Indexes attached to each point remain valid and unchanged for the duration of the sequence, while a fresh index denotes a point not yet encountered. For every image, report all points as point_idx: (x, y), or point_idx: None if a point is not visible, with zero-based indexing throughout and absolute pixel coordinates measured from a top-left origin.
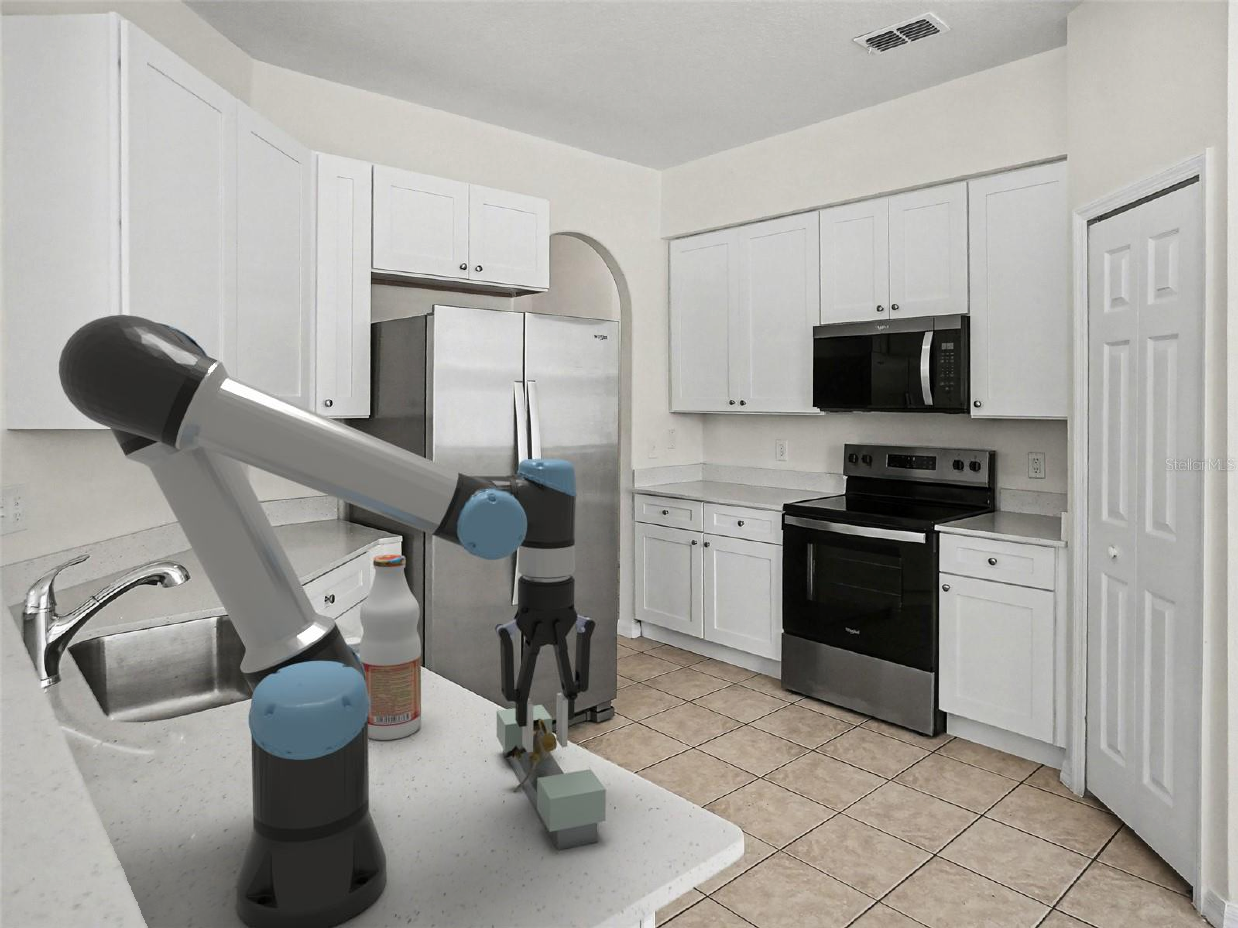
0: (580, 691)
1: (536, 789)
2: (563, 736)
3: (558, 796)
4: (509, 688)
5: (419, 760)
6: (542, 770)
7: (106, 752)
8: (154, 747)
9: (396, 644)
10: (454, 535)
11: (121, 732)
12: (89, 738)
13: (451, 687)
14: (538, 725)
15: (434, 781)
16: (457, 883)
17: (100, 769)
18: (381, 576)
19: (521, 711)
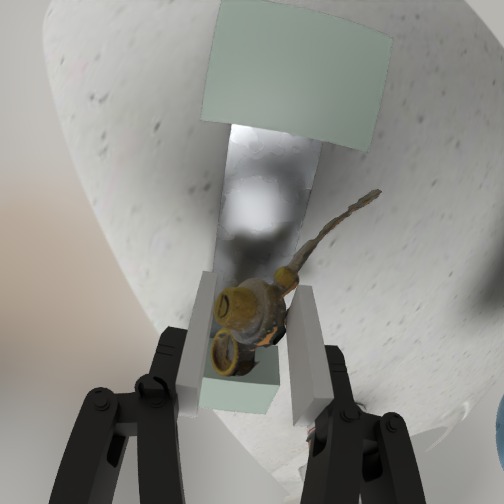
0: (118, 395)
1: (301, 209)
2: (210, 292)
3: (367, 33)
4: (402, 450)
5: (356, 370)
6: (251, 270)
7: (473, 403)
8: (459, 406)
9: (360, 499)
10: None
11: (454, 419)
12: (465, 414)
13: (243, 444)
14: (239, 359)
15: (375, 329)
16: (479, 87)
17: (488, 389)
18: None
19: (340, 383)
